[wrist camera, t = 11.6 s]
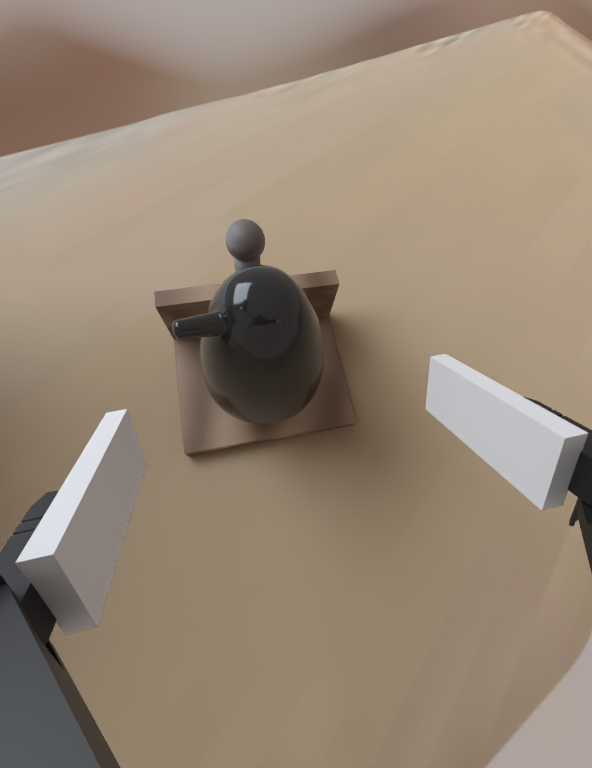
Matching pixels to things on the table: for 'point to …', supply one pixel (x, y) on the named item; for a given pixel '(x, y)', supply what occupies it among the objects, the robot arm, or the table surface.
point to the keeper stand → (198, 409)
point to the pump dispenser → (258, 345)
